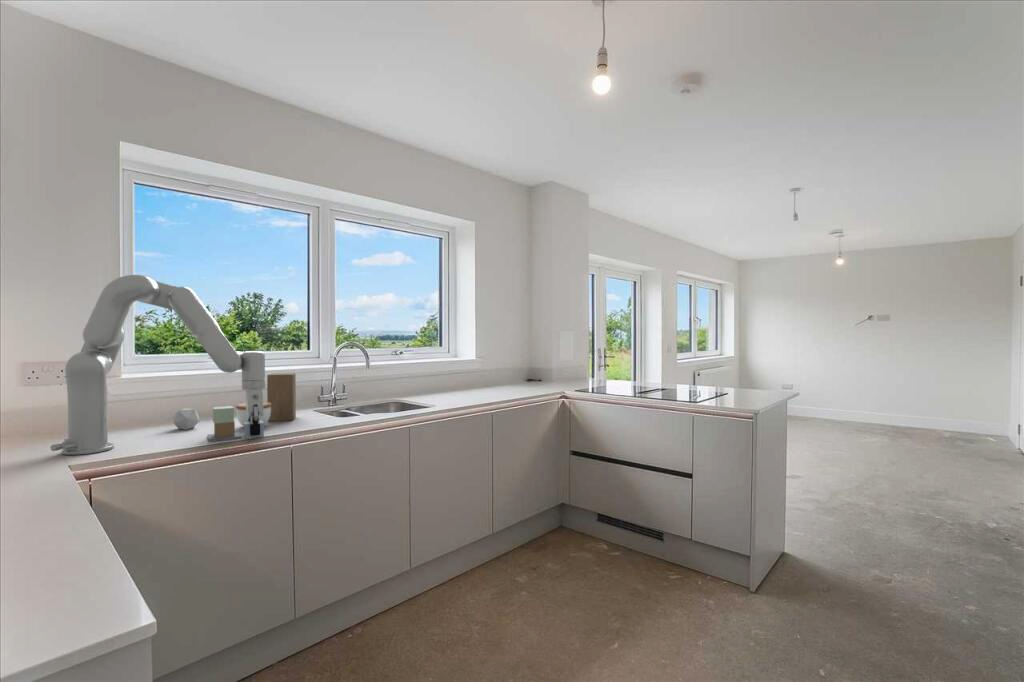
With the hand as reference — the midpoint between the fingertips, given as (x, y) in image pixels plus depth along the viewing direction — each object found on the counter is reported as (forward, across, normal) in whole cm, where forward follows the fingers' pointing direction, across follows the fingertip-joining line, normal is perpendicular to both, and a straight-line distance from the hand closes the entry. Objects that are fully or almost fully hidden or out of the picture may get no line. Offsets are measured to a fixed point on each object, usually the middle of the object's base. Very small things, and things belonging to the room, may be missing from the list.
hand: (253, 433), depth 181 cm
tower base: (+1, +2, +9) cm, 9 cm away
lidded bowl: (+1, +19, -2) cm, 19 cm away
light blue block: (+1, 0, 0) cm, 1 cm away
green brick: (-5, +2, +10) cm, 11 cm away
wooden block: (+1, +31, -14) cm, 34 cm away
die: (+1, +29, +20) cm, 36 cm away
